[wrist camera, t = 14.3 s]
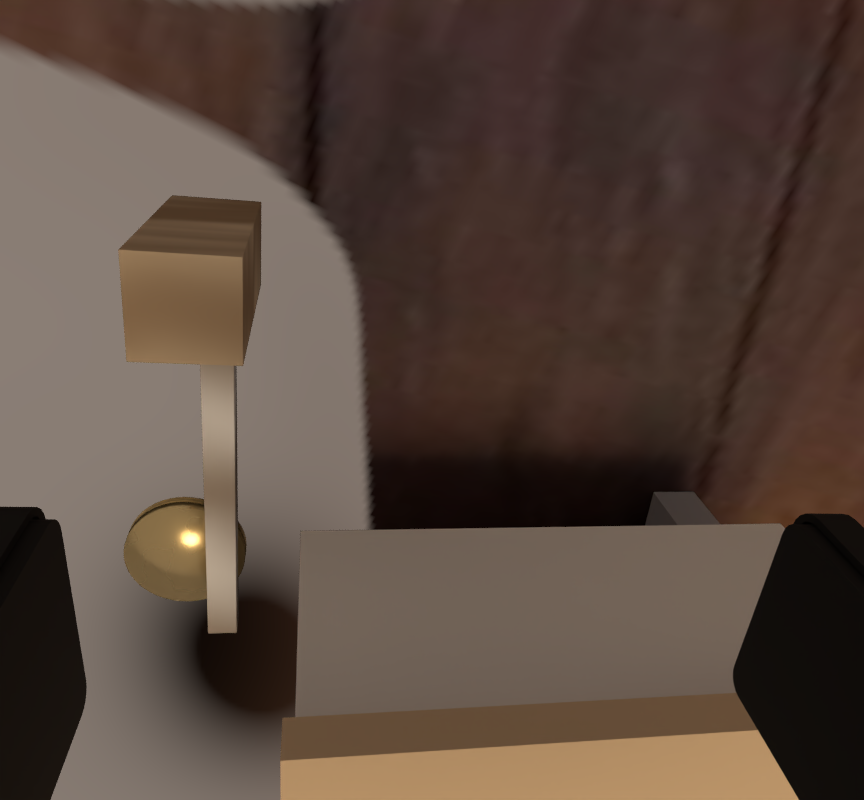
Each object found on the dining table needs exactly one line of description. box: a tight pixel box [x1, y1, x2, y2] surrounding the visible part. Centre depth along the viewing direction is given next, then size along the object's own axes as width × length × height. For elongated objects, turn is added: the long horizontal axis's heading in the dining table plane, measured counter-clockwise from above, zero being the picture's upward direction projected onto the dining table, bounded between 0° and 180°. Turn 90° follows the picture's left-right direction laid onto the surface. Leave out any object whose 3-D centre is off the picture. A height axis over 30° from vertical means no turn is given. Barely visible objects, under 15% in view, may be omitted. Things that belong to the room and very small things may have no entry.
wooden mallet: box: [118, 196, 261, 633], centre depth 26 cm, size 18×3×8 cm, turn 174°
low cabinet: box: [280, 492, 799, 800], centre depth 29 cm, size 17×19×15 cm
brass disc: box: [124, 497, 247, 601], centre depth 32 cm, size 5×5×1 cm
